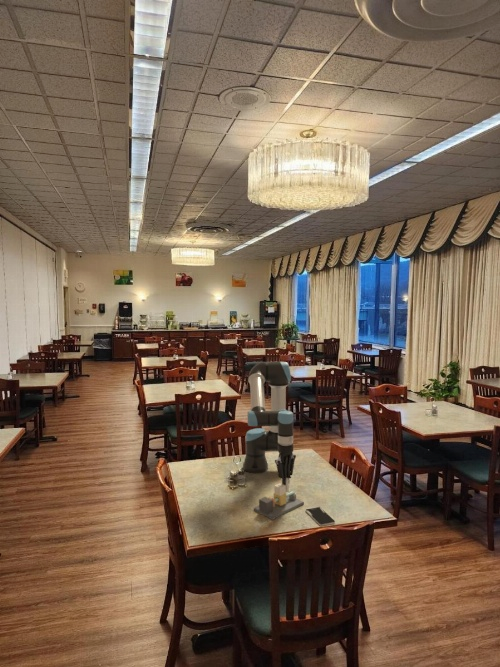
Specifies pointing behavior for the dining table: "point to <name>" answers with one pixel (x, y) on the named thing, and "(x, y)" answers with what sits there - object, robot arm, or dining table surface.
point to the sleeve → (280, 494)
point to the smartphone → (320, 516)
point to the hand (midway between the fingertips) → (285, 490)
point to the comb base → (275, 510)
